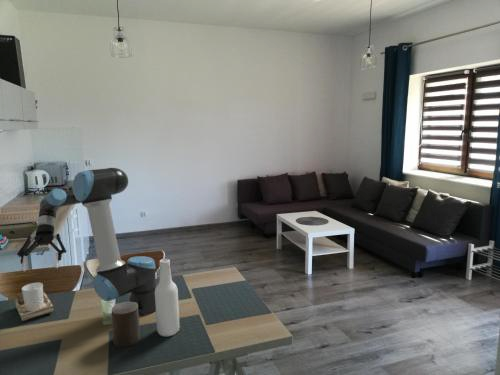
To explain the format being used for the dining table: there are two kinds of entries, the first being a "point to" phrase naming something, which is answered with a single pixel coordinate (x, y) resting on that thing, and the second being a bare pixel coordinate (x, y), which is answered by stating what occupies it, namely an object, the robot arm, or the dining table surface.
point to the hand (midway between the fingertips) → (40, 268)
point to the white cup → (33, 296)
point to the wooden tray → (30, 314)
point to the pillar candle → (125, 324)
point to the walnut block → (20, 299)
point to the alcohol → (166, 302)
